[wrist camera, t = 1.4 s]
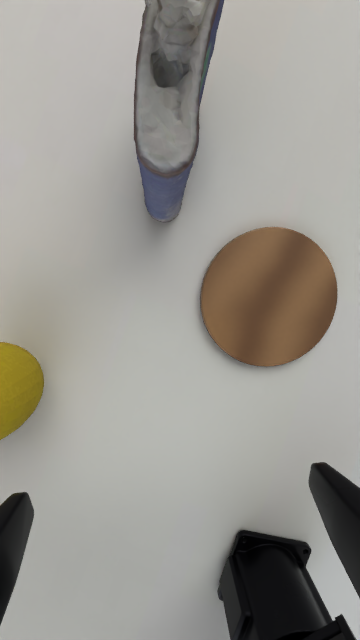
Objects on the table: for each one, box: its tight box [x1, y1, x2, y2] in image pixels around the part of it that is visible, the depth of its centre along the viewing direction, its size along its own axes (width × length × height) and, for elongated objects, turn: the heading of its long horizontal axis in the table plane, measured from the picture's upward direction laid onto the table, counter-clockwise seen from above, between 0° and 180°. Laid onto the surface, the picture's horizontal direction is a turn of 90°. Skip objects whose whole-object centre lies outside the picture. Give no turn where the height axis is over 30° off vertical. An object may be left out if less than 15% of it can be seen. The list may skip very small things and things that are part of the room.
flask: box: [134, 0, 224, 222], centre depth 13 cm, size 9×3×11 cm, turn 168°
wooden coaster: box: [200, 227, 337, 366], centre depth 20 cm, size 10×10×1 cm
